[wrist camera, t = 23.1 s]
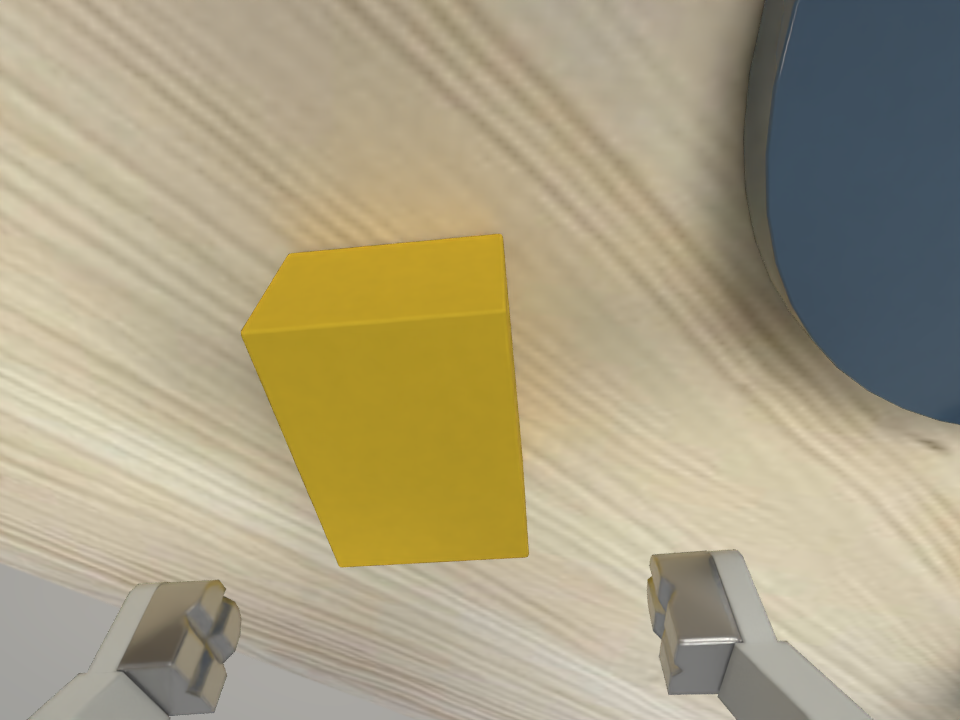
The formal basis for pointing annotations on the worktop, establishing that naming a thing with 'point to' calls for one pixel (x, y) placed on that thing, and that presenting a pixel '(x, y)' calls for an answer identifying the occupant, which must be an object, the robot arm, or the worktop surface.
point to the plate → (863, 187)
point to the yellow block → (399, 397)
